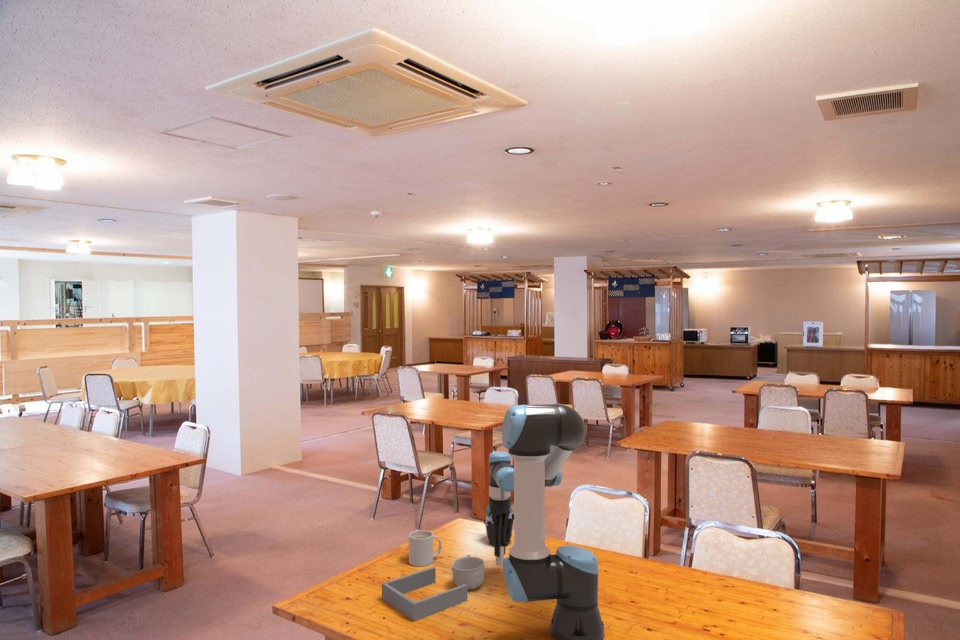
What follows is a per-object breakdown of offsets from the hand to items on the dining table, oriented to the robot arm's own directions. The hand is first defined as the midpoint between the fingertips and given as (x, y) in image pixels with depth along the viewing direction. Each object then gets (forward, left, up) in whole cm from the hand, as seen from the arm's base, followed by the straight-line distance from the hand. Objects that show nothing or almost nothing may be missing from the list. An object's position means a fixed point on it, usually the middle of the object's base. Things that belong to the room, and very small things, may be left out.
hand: (499, 564), depth 216 cm
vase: (+21, -18, -3) cm, 28 cm away
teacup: (0, +14, -3) cm, 14 cm away
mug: (+25, +15, -3) cm, 29 cm away
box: (0, +32, -3) cm, 32 cm away
